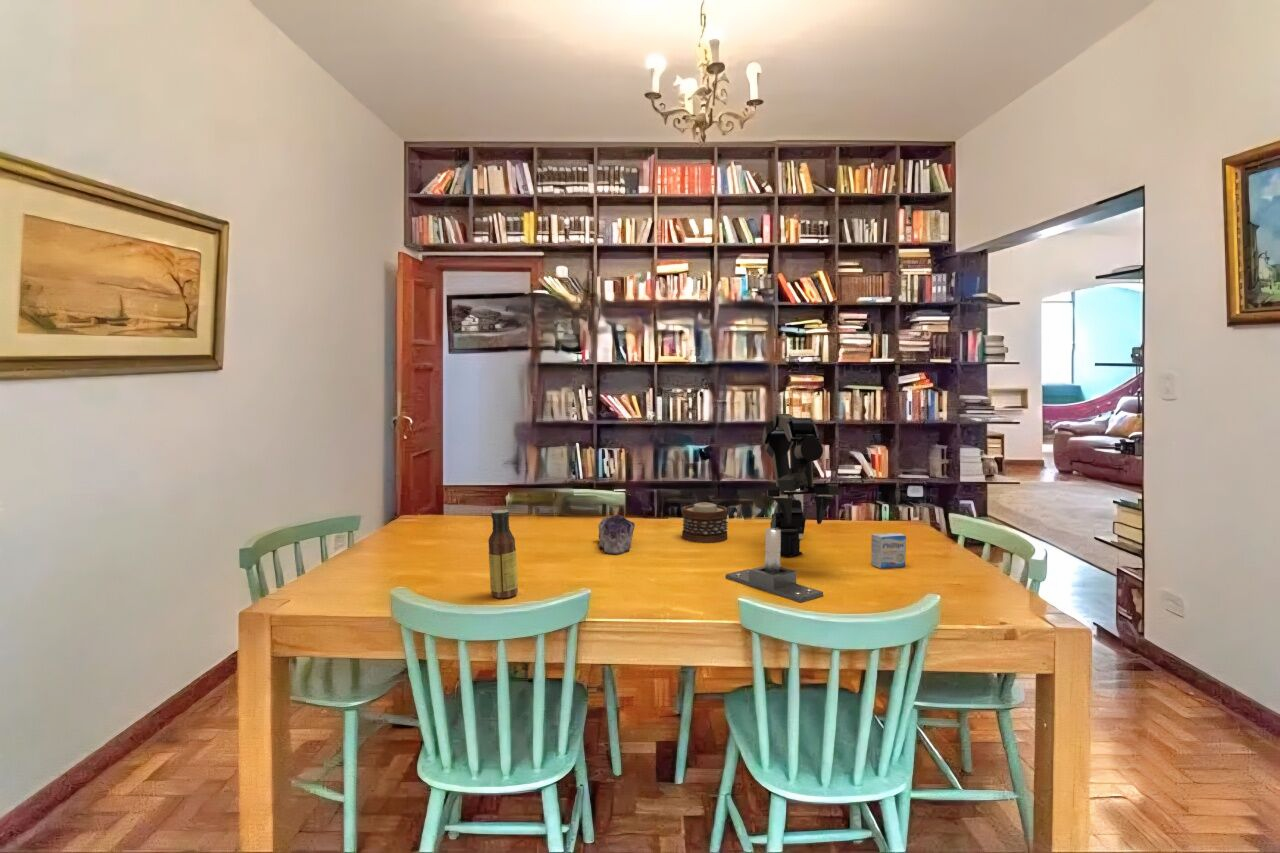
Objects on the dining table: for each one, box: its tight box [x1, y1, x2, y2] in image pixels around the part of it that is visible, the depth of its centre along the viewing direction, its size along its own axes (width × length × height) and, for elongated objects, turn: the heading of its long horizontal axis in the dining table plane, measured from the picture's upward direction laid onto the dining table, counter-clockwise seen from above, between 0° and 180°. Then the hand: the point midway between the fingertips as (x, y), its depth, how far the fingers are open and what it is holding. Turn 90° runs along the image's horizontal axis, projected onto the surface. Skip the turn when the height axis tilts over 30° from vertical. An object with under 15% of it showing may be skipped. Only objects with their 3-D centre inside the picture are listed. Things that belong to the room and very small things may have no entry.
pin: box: [764, 527, 781, 575], centre depth 170 cm, size 4×4×14 cm
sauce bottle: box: [487, 509, 519, 599], centre depth 163 cm, size 7×6×20 cm
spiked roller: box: [681, 501, 730, 544], centre depth 222 cm, size 15×11×15 cm
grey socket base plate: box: [725, 565, 824, 603], centre depth 171 cm, size 24×8×4 cm, turn 37°
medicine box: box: [870, 532, 907, 570], centre depth 189 cm, size 8×4×9 cm, turn 105°
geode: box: [597, 514, 636, 556], centre depth 210 cm, size 20×12×10 cm, turn 3°
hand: (803, 524), depth 185 cm, fingers open, 9 cm apart
